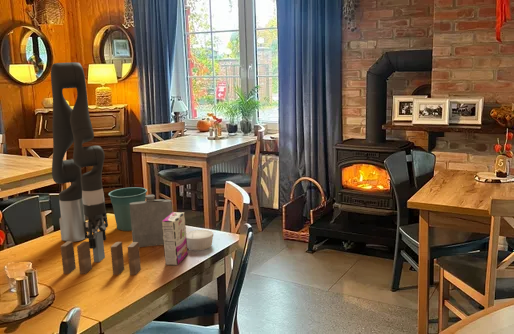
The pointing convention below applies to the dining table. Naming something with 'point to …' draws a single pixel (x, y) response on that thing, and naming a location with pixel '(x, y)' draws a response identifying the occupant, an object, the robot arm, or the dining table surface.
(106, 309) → the dining table surface
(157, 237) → the hip flask
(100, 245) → the domino
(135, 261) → the domino
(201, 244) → the ramekin
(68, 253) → the domino
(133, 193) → the flower pot
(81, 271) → the domino
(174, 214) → the candy bar box
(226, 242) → the dining table surface
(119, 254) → the domino
